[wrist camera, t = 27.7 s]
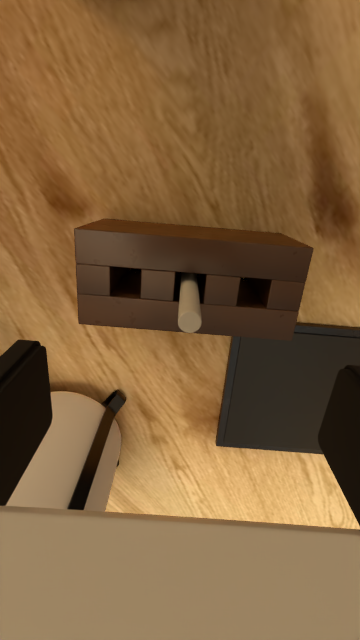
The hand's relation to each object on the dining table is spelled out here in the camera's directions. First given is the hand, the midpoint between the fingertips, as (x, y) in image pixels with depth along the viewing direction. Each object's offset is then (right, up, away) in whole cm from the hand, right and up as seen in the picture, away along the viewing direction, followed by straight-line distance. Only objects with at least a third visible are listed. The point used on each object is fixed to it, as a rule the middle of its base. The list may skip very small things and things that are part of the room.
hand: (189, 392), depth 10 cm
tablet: (+15, -6, +25) cm, 30 cm away
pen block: (+1, +8, +20) cm, 21 cm away
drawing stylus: (+1, +7, +20) cm, 21 cm away
